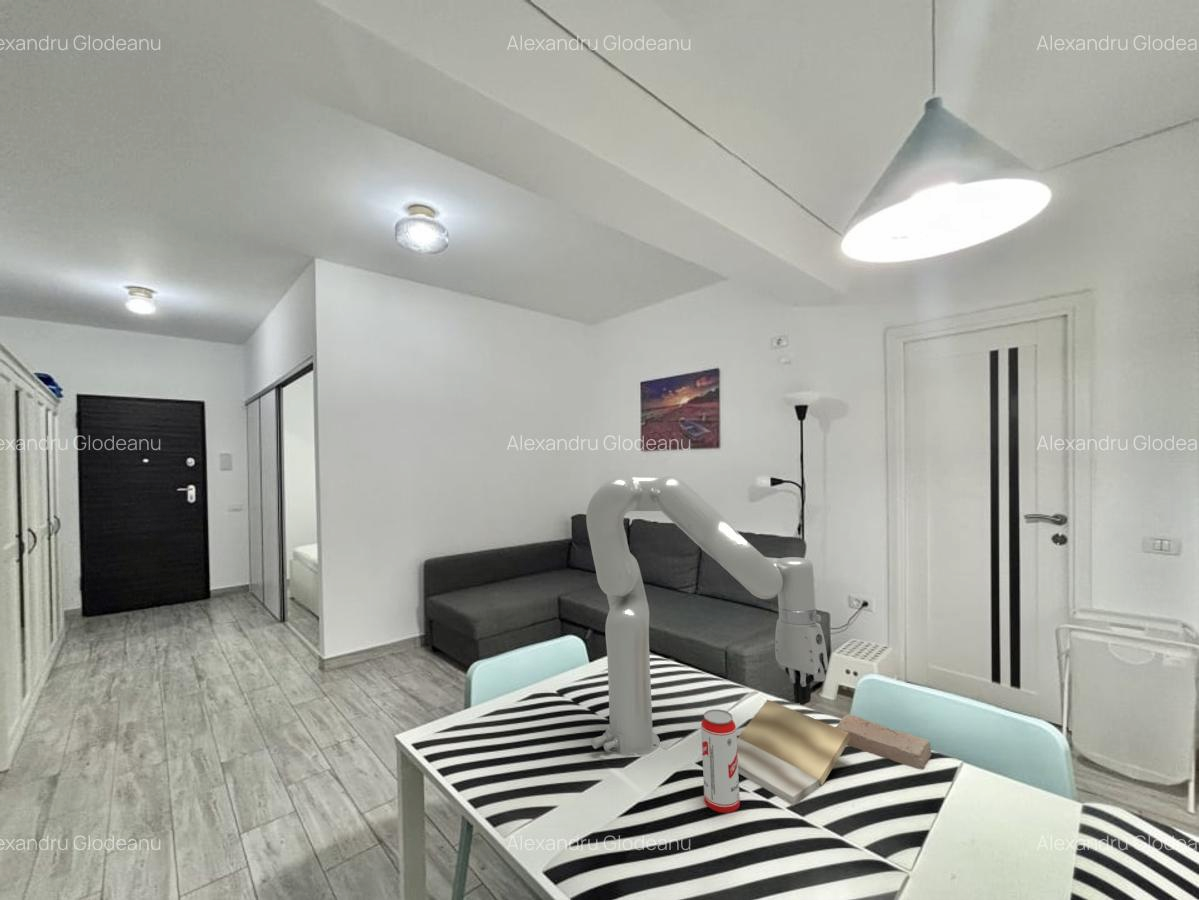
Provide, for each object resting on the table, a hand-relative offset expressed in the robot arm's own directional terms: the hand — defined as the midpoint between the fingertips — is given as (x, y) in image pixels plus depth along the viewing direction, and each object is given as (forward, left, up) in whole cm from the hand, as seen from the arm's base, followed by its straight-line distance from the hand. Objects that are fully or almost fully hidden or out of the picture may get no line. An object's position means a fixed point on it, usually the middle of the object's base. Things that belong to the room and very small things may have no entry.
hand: (802, 702), depth 106 cm
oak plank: (-4, 0, -7) cm, 8 cm away
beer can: (-28, -1, -11) cm, 30 cm away
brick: (+13, -10, -11) cm, 19 cm away
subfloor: (-8, 0, -10) cm, 13 cm away
